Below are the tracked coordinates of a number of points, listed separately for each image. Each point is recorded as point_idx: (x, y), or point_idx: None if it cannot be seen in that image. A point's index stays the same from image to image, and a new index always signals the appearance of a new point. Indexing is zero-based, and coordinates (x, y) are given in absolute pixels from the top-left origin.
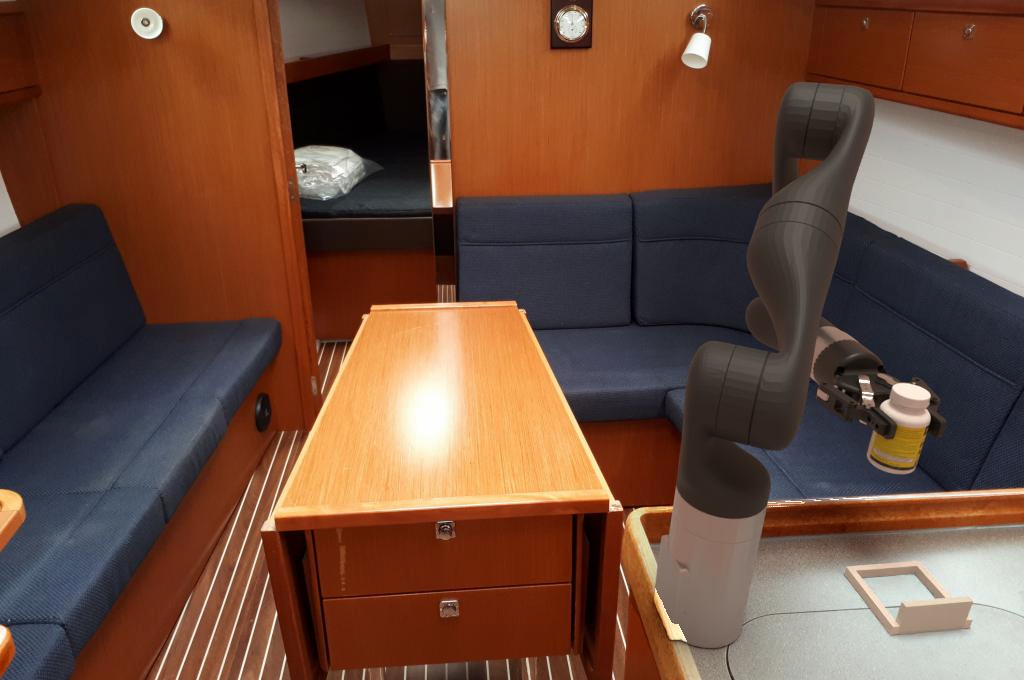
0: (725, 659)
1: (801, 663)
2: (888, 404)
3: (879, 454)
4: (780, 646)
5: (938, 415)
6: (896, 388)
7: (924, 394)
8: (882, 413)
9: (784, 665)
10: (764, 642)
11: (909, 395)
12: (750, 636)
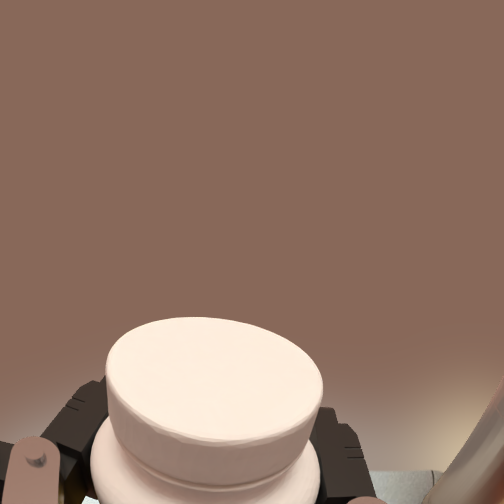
0: (434, 478)
1: (372, 477)
2: (292, 473)
3: None
4: (387, 492)
5: (96, 391)
6: (293, 398)
7: (171, 333)
8: (334, 458)
9: (388, 476)
10: (401, 495)
11: (265, 344)
12: (413, 500)
